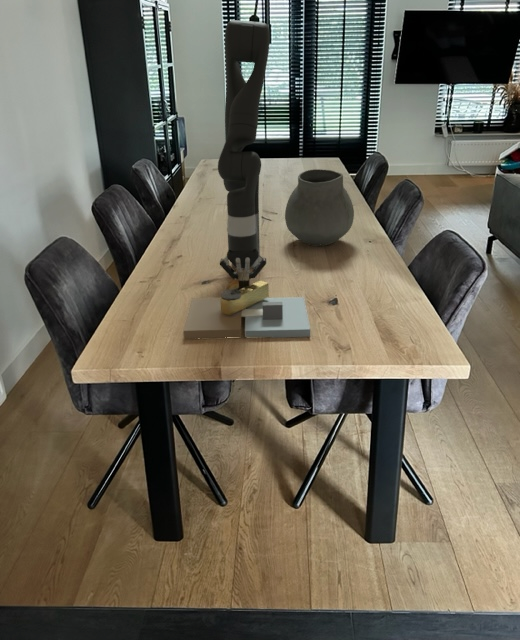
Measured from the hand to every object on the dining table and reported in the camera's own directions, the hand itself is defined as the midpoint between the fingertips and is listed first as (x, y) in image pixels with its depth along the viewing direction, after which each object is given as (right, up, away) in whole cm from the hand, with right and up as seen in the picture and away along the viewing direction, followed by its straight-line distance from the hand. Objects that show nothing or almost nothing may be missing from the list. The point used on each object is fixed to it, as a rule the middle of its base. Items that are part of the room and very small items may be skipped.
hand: (244, 291), depth 155 cm
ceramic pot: (+26, +20, +52) cm, 61 cm away
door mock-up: (0, -8, -6) cm, 10 cm away
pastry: (-2, 0, +11) cm, 12 cm away
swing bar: (0, -4, -4) cm, 5 cm away
